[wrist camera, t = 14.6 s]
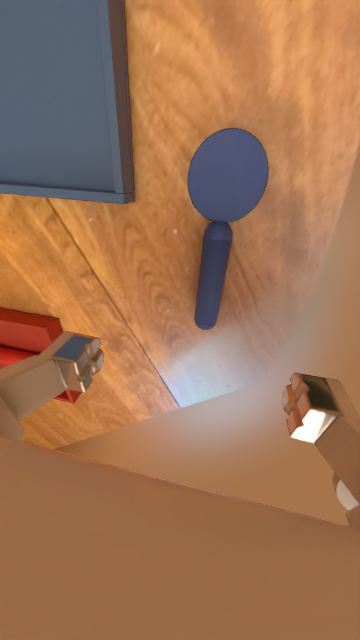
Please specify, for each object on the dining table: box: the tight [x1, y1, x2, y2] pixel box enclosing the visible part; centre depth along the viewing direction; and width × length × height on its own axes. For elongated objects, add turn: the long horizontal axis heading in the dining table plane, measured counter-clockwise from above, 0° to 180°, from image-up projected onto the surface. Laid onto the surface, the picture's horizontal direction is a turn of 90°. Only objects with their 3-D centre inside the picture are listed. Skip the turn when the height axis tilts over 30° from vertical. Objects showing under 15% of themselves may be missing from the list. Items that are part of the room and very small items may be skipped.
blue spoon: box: [188, 128, 268, 330], centre depth 16 cm, size 14×5×2 cm, turn 177°
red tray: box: [0, 308, 82, 403], centre depth 28 cm, size 13×18×2 cm
